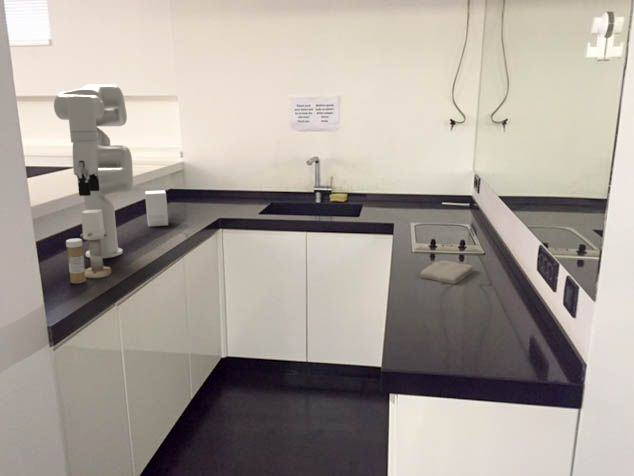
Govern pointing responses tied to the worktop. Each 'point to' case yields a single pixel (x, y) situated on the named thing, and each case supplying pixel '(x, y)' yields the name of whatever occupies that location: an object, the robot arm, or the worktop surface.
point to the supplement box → (156, 208)
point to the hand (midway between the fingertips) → (89, 193)
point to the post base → (99, 274)
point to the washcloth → (446, 271)
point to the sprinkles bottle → (76, 260)
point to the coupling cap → (93, 225)
